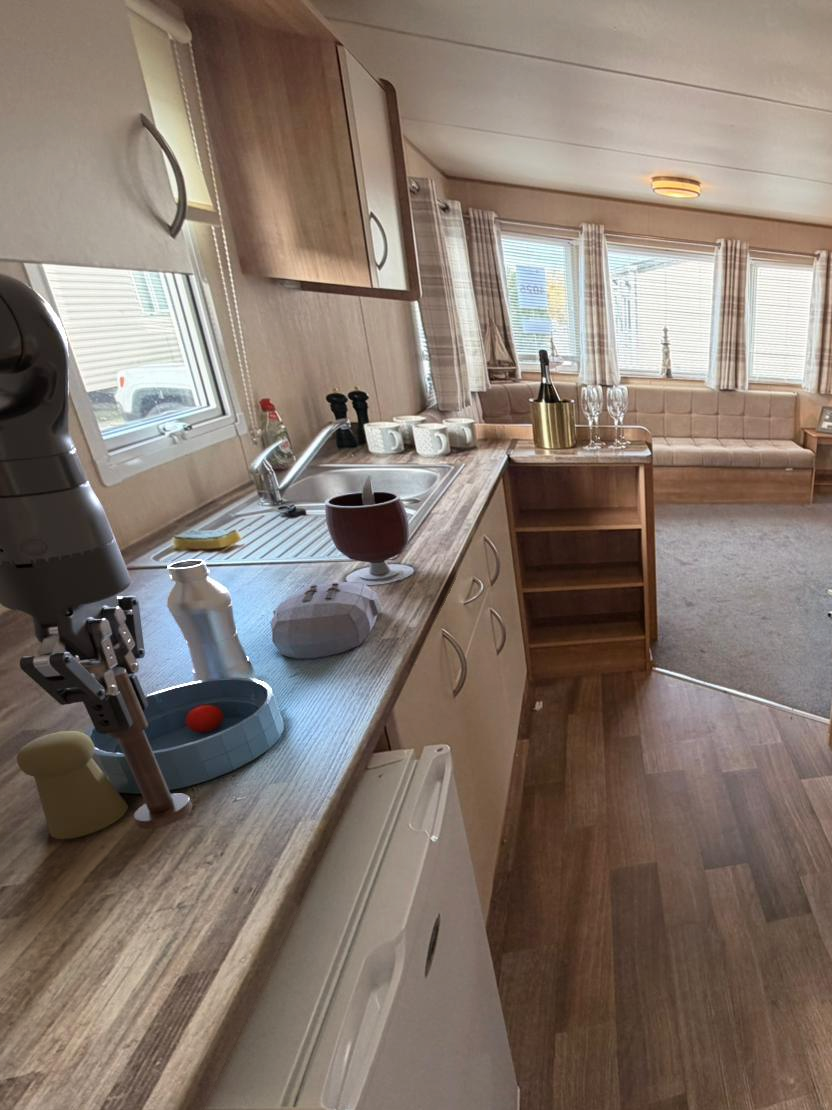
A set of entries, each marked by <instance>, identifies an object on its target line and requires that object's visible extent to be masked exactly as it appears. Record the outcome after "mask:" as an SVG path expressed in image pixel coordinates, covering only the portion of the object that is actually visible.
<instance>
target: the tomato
mask: <svg viewBox="0 0 832 1110" xmlns="http://www.w3.org/2000/svg"><path fill="white" fill-rule="evenodd" d="M222 722H223V713H222V711H221V710H220V709H219V708H217V707H215V706H212V705H202V706H198V707H196V708H194V709H192V710H191V711H190V712H189V713H188V715H187V717H186V725H187V726H188V728H189V729H190V730H192V731H194V732H197V733H207V732H211V731H213V730H215V729H217V728H218V727H219V726H220V725H221V724H222Z"/></svg>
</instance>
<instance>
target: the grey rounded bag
mask: <svg viewBox="0 0 832 1110" xmlns="http://www.w3.org/2000/svg"><path fill="white" fill-rule="evenodd" d="M377 593H378V592H377V591H374V590H373V589H372V588H370V587H369V585H365V584H364V583H359V582H347V581H333V582H325V583H318V584H313V585H309V586H306V587H303V588H300V589H299V590H297V591H296V592H294V593H292V594H291V595H290V596H289V597H287V598H286V599H285V600H284V601H281V602H280V603H279V604H278V605H277V606H276V608H275V609H274V610H273V611H272V612H273V616H272V618H271V620H270V622H269V623H270V626H271V633H272V635H271V636H272V640H271V642H272V643H273V645H274V646H275V647H276V649H277V650H278V651H279V653H280V654H281V656H285V657H289V658H293V659H299V660H300V659H316V658H318V659H319V658H323V657H328V656H333V655H337V654H342V653H344V652H347V651H349V650H351V649H354V648H356V647H359V646H361V644H362V643H363V642H364V640H365V639H366V637H367V636H368V635H369V634H370V633H371V631H372V629H373V627H374V625H375V623H376V621H377V616H378V615H379V614H380V611H381V602H380V599H379V597H378V594H377Z"/></svg>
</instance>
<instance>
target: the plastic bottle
mask: <svg viewBox="0 0 832 1110" xmlns="http://www.w3.org/2000/svg"><path fill="white" fill-rule="evenodd" d="M167 570H168V572H169V574H170V575H169V577H170V579H171V581H172V582H175V583H174V585H173V587H172V588H171V590H170V592H169V594H168V596H167V601H166V607H167V609H168V611H169V613H170V614H171V616H172V618H173V619H174V621H175V623H176V624H177V626H178V628H179V630H180V632H181V634H182V636H183V638H184V640H185V643H186V646H187V648H188V652H189V656H190V660H191V664H192V675H193V676H192V677H193V682H196V681H203V680H210V679H217V678H236V677H239V678H250V679H256V678H257V677H256V668H255V666H254V664H253V663H252V660H251V659H250V658H249V656H248V655H247V653H246V651H245V648H244V646H243V644H242V641H241V640H240V637H239V634H238V630H237V625H236V622H235V621H236V620H235V616H234V606H233V597H232V594H231V593H230V591H229V590H228V588H226V587H225V586H224V585H223V584H221V583H219V582H218V581H216V580H214V579H212V578H211V577H209V576H210V575H211V572H210V570H209V569H208V566H207V563H206V562H205V560H203V559H185V560H181V561H177V562H173V563H170V564H169V565H167ZM256 680H257V679H256Z"/></svg>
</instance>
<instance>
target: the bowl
mask: <svg viewBox="0 0 832 1110" xmlns="http://www.w3.org/2000/svg"><path fill="white" fill-rule="evenodd" d="M145 697H146V700H147V702H148V706H147V707H146V709H145V710H144V711H143V713H144V715H145V718H146V720H147V723H148V727H147V728H146V729H145V730H144V731H145V734H146V736H147V738H148V741H149V743H150V746H151V748H152V750H153V753H154V755H155V758H156V760H157V762H158V765H159V767H160V770H161V772H162V774H163V777H164V779H165V782H166V784H167V786H168V789H169V791H173V790H177V789H178V790H179V789H183V788H187V787H190V786H194V785H197V784H201V783H204V782H207V781H210V780H212V779H215V778H218V777H220V776H222V775H225V774H228V773H230V772H233V771H234V770H237V769H238V768H241V767H243V766H244V765H246V764H249V763H250V762H252V761H254V760H256V759H257V758H258V757H260V756H261V755H262V754H264V753H266V752H268V750H270V749H271V748H272V747H273V745H275V743H276V742H278V741H279V740H280V738H281V736H282V734H283V732H284V730H285V725H284V720H283V717H282V714H281V711H280V708H279V704H278V701H277V699H276V695H275V693H274V689H273V687H271V686H270V685H269V684H268V683H267V682H265V681H262V680H258V679H250V678H239V677H236V678H217V679H210V680H203V681H196V682H194V681H191V682H188V683H183V684H178V685H174V686H171V687H168V688H165V689H161V690H158V691H155V692H151V693H149V694H146V695H145ZM202 705H212V706H215V707H217V708H219V709H220V710H221V711H222V713H223V722H222V724H221V725H220V726H219V727H218V728H217V729H215V730H213V731H211V732H207V733H197V732H194V731H192V730H190V729H189V728H188V726H187V725H186V717H187V715H188V713H189V712H190V711H191V710H192V709H194V708H196V707H198V706H202ZM84 734H86V735H87V736H88V737H89V738H90V739H91V740H92V742H93V744H94V754H93V756H92V759H93V760H94V762H95V763H96V764H97V765H98V767H99V768H100V769H101V771H102V772H103V773H104V775H105V776H106V777H107V779H108V780H109V781H110V782H111V784H112V785H113V786H114V788H115V789H116V790H117V792H118V793H124V794H130V795H131V794H132V795H138V794H139V795H142V794H141V792H140V789H139V787H138V785H137V783H136V780H135V778H134V776H133V774H132V771H131V769H130V767H129V764H128V762H127V760H126V758H125V755H124V753H123V751H122V749H121V746H120V744H119V742H118V739H117V738H111V737H110V736H109V735H108V734H100V733H98V732H97V731H96V729H95V727H94V725H93V724H92V725H90V727H88V729H87V730H86V731H85V732H84Z"/></svg>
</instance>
